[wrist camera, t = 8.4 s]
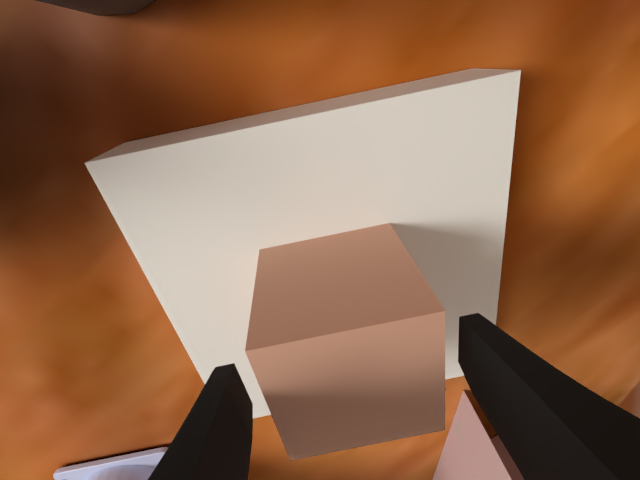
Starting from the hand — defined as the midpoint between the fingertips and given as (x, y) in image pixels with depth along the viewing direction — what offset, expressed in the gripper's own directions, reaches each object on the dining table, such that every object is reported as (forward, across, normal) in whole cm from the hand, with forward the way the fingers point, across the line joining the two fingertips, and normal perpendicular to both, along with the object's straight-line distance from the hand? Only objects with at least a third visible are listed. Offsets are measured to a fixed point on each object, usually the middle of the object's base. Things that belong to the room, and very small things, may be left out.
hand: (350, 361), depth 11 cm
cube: (+4, 0, 0) cm, 4 cm away
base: (+7, 0, 0) cm, 7 cm away
